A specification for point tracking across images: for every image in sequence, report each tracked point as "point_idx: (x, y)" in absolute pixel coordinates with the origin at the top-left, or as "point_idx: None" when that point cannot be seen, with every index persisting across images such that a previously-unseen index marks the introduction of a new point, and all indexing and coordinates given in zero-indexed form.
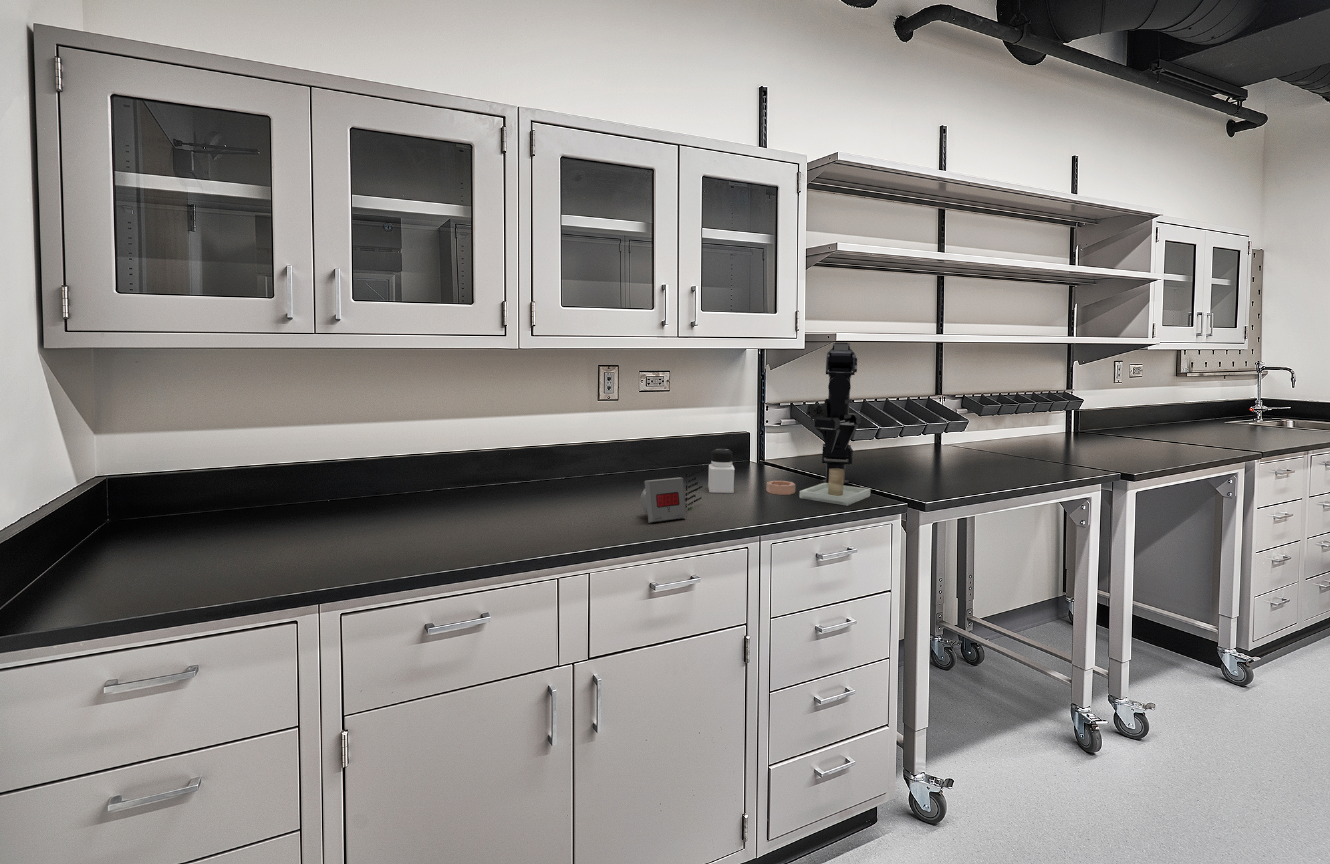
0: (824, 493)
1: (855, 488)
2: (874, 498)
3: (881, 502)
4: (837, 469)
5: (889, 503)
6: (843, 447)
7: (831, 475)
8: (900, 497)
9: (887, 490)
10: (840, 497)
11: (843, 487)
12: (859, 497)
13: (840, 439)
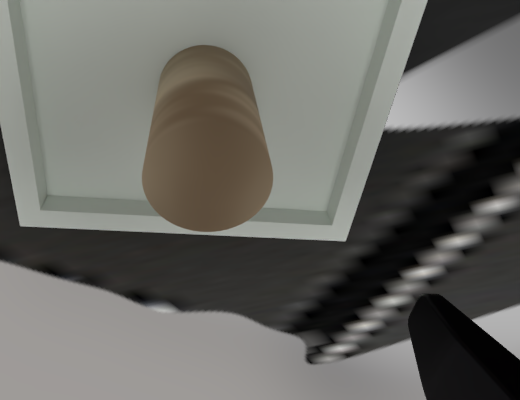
0: (183, 22)
1: (346, 173)
2: (292, 243)
3: (223, 283)
4: (221, 185)
5: (223, 306)
6: (423, 331)
7: (150, 136)
8: (369, 305)
9: (508, 237)
10: (14, 190)
11: (365, 101)
12: None
13: (505, 396)
